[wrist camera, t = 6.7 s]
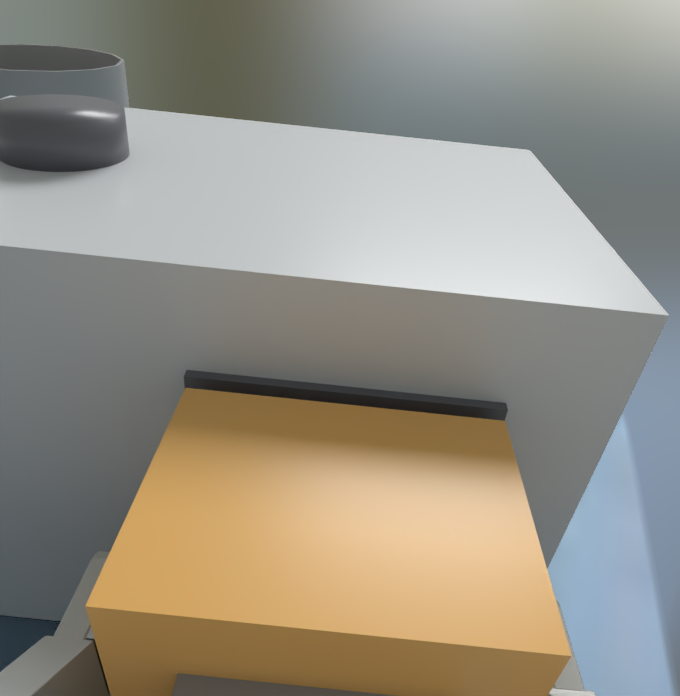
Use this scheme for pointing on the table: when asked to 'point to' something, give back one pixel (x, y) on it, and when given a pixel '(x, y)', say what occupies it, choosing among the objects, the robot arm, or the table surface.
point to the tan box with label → (327, 558)
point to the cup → (61, 72)
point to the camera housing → (282, 306)
